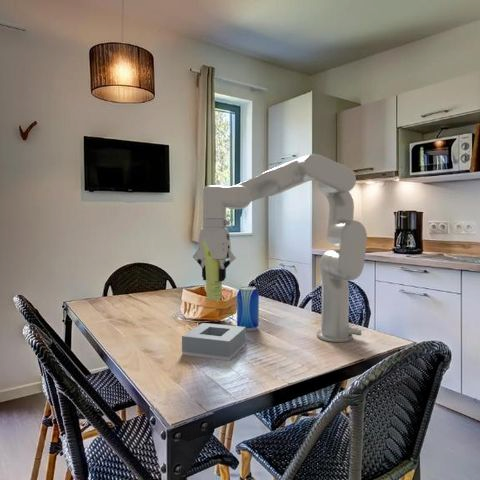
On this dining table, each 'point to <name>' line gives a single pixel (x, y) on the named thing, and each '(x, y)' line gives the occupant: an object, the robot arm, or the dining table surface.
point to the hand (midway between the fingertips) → (213, 279)
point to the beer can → (248, 308)
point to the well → (214, 341)
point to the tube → (212, 275)
